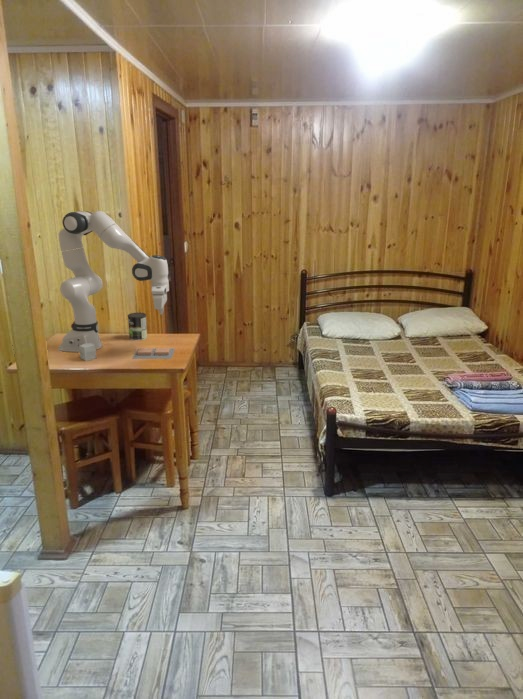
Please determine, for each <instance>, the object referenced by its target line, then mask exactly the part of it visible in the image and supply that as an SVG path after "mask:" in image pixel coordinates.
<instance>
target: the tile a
mask: <svg viewBox="0 0 523 699" xmlns="http://www.w3.org/2000/svg"><path fill="white" fill-rule="evenodd" d="M138 349H139V351H138V355H152V353H153V349H154V347H140V348H138Z"/></svg>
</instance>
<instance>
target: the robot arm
mask: <svg viewBox="0 0 523 699" xmlns="http://www.w3.org/2000/svg"><path fill="white" fill-rule="evenodd" d="M62 226H63V228H62V229H61V230H59V232H58V242H59V248H60V251H61V255H62V260H63V263H64V266H65V268H67V269H68V270H70V271H71V272H72V273H73V274H74V277H71V278H68V279H66V280H65V281H63V282H62V283H61V284H60V288H59V290H60V294H61V295H62V297H63V298H64V299H65V300H67V301H68V302H69V303H70V306H71V307H72V310H73V317H74V321H73V322H72V323H71V326H70V328H71V329H70V330H69V331H68V332H67V333H66V334H65V335H64V336H63V337H62V341H61V344H60V345H59V346H58V348H57V350H58V352H69V353H70V352H71V353H80V350H79V345H81V344H85V343H91V344H93V345H95V350H98V349H101V348H102V347H103V343H102V341H101V338H100V334H99V323H98V320H97V311H96V307H95V306H94V304H91V302H90V301H89V299H88V298H89V296H93V295H95V294H97V293H98V292H100V291H102V289H103V286H104V285H103V282H104V281H103V280H102V278H101V277H100V276H99V275H98V274H97V273H95V272H94V271H93V269H92V268H91V266H90V265H89V264H90V263H88V259H87V255H86V252H85V249H84V244H83V240H82V239H83V236H87V235H89V234H90V233H92V232H94V233H95V234H96V236H98V238H99V239H100V240H101V241H102V242H103V243H104V245H106V246H108V247H109V248H111V249H116V250H121V251H124V252H126V253H128V254H129V255H130V257H132V258H133V259H134V260H135V261H136V262H137V263H135V264H134V265H133V266H132V268H131V273H132V276H133V278H134V279H135V280H137V281H139V282H145V281H150V284H151V287H150V288H151V295H152V300H153V307H154V310H158V312H159V315H163V314H164V311H165V310H164V308H165V305H166V303H167V301H168V292H169V291H170V284H169V282H170V281H169V265H168V260H167V258H166V257H165V256H162V255H159V254H154V255H151V256H149V254H148V253H147V252H145V251H144V250H143V249H142V248H141V247H140V246H139V245H138V244H137V243H136V242H135V241H134V240H133V239H131V237H130V236H128V235H127V233H125V231H124V230H123V229H122V228H121V227H120V226H119V225H118V224H117V223H116V221H115V220H114V219H113V218H111V216H109V215H108V214H107V213H106V212H104V211H103V210H97V211H94V212H93V213H92V212H90V211H84V210H77V211H70V212H68V213H66V214H65V215H64V216H63V218H62Z"/></svg>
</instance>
